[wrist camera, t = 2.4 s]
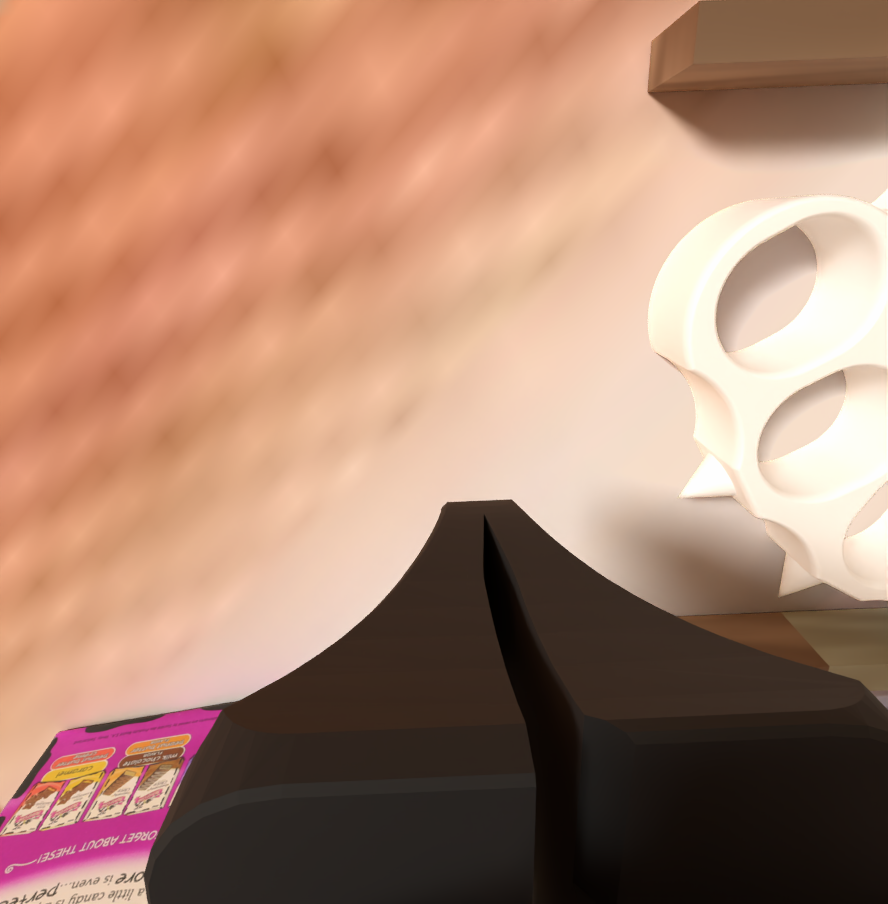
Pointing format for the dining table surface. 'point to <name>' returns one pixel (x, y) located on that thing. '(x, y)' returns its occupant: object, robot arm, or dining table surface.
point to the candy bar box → (96, 809)
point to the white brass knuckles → (790, 382)
